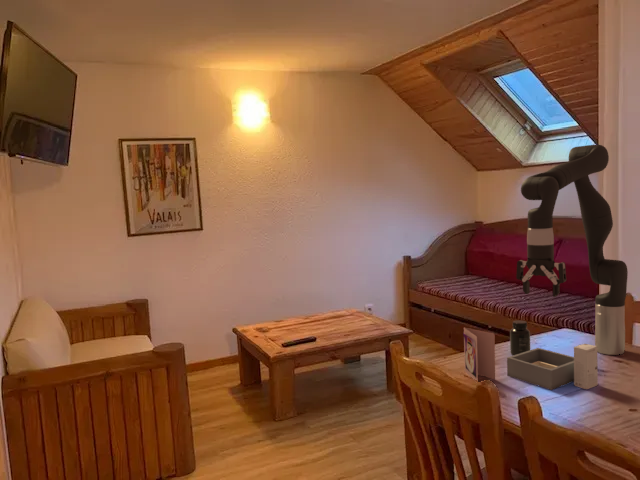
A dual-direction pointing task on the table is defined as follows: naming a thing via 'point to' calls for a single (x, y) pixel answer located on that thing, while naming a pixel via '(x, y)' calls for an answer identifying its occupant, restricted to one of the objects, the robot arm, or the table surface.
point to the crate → (542, 368)
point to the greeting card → (479, 353)
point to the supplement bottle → (519, 337)
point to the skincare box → (585, 366)
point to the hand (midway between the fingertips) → (540, 294)
